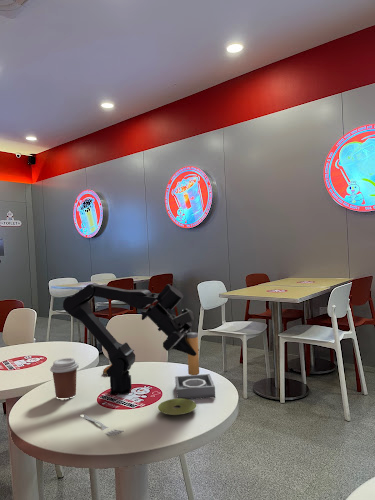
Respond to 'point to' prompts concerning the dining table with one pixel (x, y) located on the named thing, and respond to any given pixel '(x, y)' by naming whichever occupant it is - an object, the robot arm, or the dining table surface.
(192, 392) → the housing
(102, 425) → the fork
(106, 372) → the pastry
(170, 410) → the olive green flat disc
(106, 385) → the dining table surface
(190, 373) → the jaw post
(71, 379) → the coffee cup
